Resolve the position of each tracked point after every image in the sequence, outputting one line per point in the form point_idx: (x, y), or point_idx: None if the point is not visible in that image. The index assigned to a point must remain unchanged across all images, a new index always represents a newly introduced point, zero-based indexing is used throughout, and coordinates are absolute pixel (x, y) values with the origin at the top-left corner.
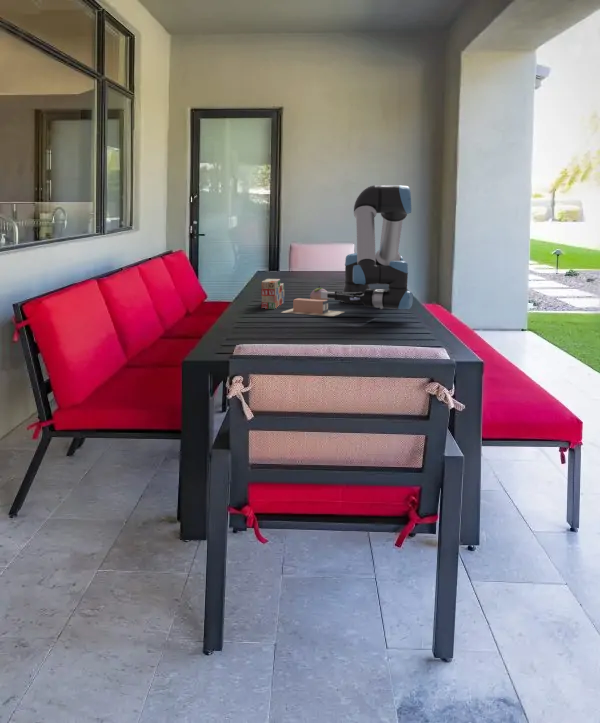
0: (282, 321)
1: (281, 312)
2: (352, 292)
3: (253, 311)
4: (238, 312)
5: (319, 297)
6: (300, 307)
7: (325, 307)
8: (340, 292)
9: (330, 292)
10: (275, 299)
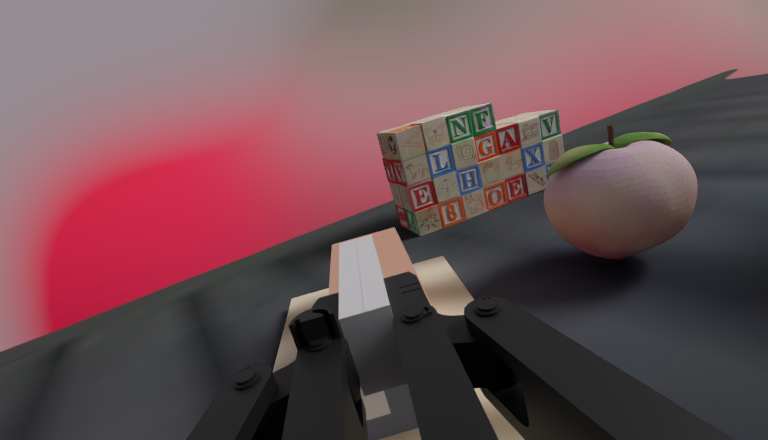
0: (62, 428)
1: (291, 301)
2: (700, 436)
3: None
4: (294, 245)
5: (576, 213)
6: None
7: (387, 392)
8: (465, 312)
9: (340, 286)
10: (427, 197)
